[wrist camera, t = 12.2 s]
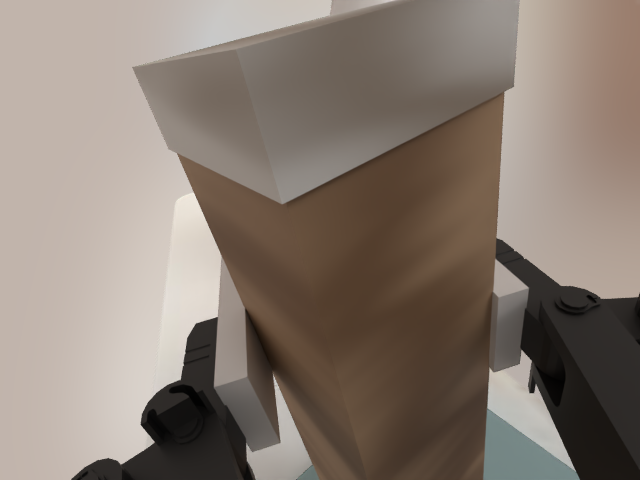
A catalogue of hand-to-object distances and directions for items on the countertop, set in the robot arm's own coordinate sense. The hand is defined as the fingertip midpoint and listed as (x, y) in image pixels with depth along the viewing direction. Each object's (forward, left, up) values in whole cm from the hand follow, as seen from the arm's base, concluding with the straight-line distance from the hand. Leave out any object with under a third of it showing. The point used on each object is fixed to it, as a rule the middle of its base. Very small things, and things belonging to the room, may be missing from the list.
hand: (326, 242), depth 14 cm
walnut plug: (+2, +5, -11) cm, 12 cm away
